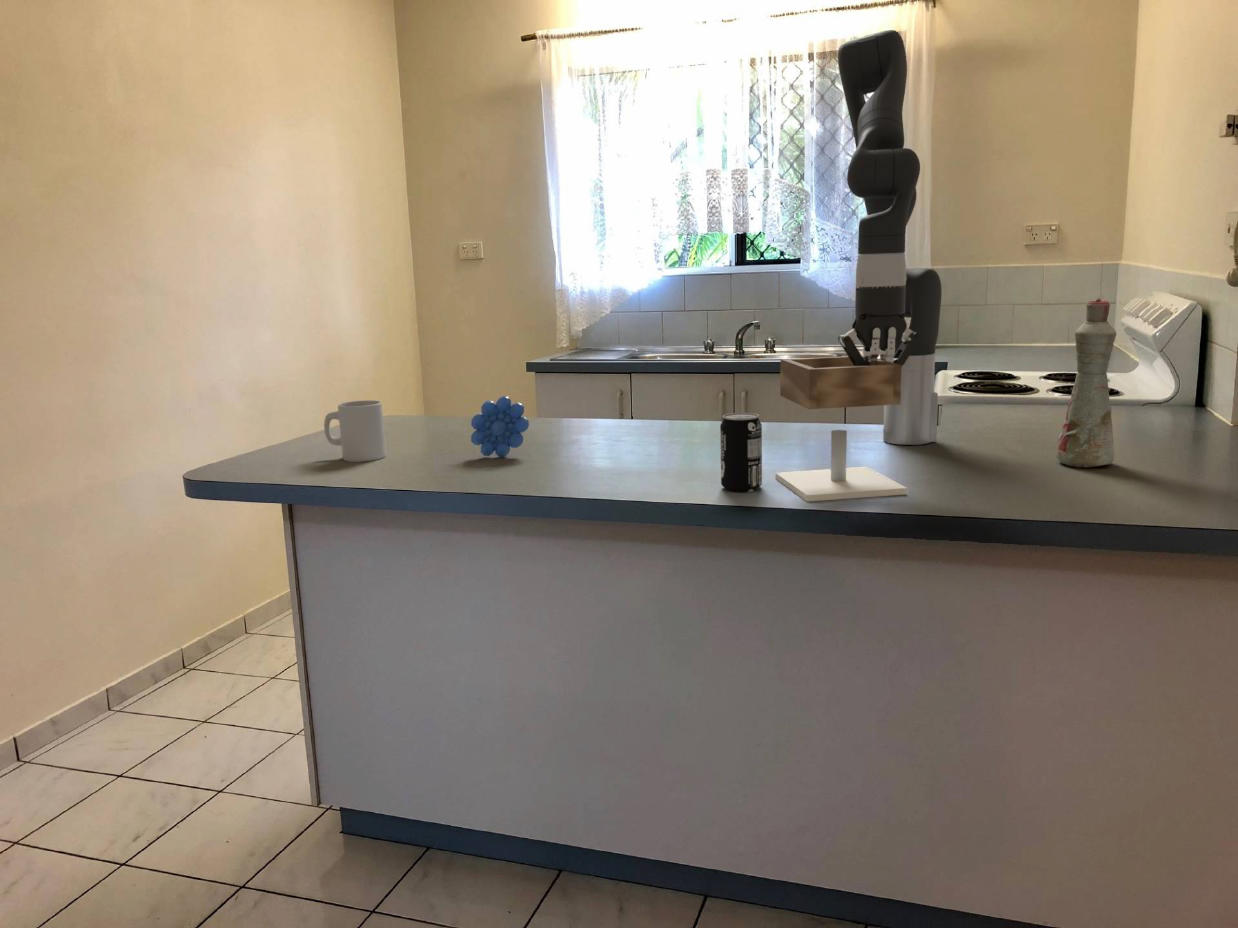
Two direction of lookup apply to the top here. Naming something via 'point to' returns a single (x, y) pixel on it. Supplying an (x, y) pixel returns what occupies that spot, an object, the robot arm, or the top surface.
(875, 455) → the top surface
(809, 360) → the collar
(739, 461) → the beverage can
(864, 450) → the top surface
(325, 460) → the top surface
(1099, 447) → the bottle
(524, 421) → the blue flower ornament
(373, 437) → the mug
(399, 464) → the top surface
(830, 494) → the white square baseplate
